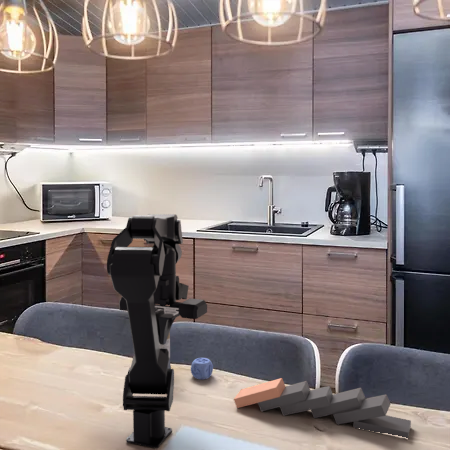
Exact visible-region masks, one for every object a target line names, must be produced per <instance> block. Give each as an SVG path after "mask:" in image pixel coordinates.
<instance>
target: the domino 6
mask: <svg viewBox="0 0 450 450" xmlns="http://www.w3.org/2000/svg"><path fill="white" fill-rule="evenodd" d="M411 425H412V420H411V419H406V418H401V417H396V416H391V415H387V414H386V416H381V417H375V418H370V419H365V420H359V421H354V422H353V425H352V427H355V428H354V429H357V428H360V429H359V430H361V429H364V430H363V431H365V430H370V431H374V432H380V433H388V434H392V435H398V436H402V437H406V438H408V436H409V437H410V433H411V429H410V427H411V428H412V426H411ZM370 431H369V432H370ZM374 432H373V433H374ZM409 432H410V433H409ZM408 439H409V438H408Z"/></svg>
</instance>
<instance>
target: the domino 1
mask: <svg viewBox="0 0 450 450" xmlns="http://www.w3.org/2000/svg"><path fill="white" fill-rule="evenodd" d="M285 387H286V384H285V382H284V380H283V378H282V377H280V378H277V379H274V380H273V379H272V380H269V381H266V382H262V383H259V384H256V385H252V386H249V387H244V388H241V389H240V390H239V391H238V393H237V394H236V395H235V397H233V401H234V403H235V407H236V408H237V409H238V408H244V407H246V406H251V405H254V404H258V402H262V401H266V400H269V399H273V398H277V397H280V396H281V394H282V392H283V390H284V389H285Z"/></svg>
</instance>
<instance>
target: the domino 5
mask: <svg viewBox="0 0 450 450" xmlns="http://www.w3.org/2000/svg"><path fill="white" fill-rule="evenodd" d="M390 406H391V401H390V399H389V397H388V395H387V394H381V395H377V396H371V397H368V398H367V397H365V398H364V401H363V403H362V406H361V407H360V408H356V409H352V410H347V411H343V412H339V413H335V414H332V416H333V418H334V420H335V423H336V425H343V424H347V423H348V424H349V423H352V422H354V421H359V420H365V419H370V418H375V417H381V416H386V415H387V413H388V411H389V409H390Z"/></svg>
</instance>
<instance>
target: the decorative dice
mask: <svg viewBox="0 0 450 450" xmlns="http://www.w3.org/2000/svg"><path fill="white" fill-rule="evenodd" d="M213 369H214V364H213V363H212V361H211V360H210V359H209V358H207V357H198V358H195V359H194V360H193V361H192V362H191V366H190V373H191V376H193V378H195V379H196V380H202V381H203V380H208V379H209V378H211V376H212V374H213V371H214V370H213Z"/></svg>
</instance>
